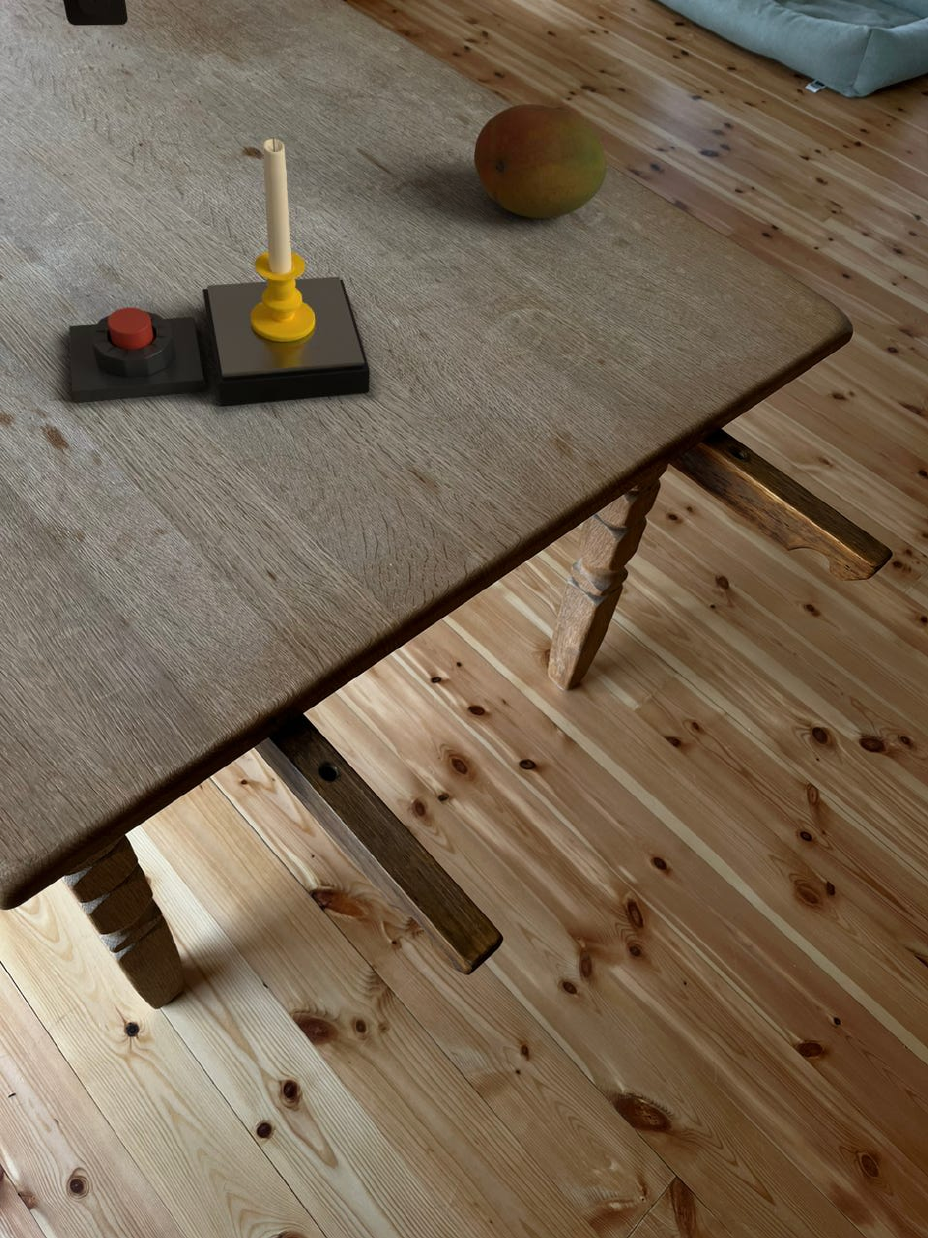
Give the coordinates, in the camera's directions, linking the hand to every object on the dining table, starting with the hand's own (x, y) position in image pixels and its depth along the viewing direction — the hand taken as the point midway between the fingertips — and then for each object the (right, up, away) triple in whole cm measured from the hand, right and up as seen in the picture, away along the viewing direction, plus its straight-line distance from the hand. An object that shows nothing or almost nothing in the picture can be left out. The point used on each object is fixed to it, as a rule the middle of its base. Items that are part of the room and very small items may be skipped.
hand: (97, 17), depth 56 cm
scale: (+5, -11, +29) cm, 31 cm away
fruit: (+28, +8, +46) cm, 54 cm away
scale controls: (-6, -13, +26) cm, 30 cm away
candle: (+5, -9, +27) cm, 29 cm away
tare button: (-6, -11, +24) cm, 27 cm away
